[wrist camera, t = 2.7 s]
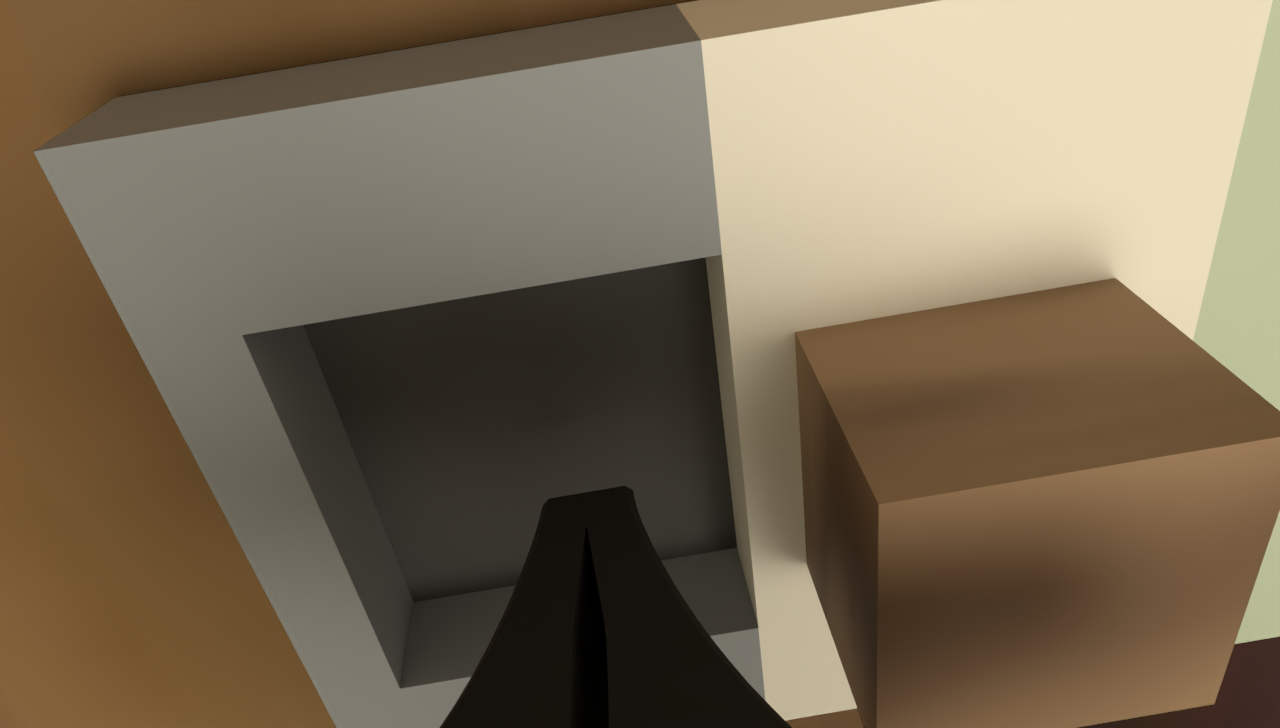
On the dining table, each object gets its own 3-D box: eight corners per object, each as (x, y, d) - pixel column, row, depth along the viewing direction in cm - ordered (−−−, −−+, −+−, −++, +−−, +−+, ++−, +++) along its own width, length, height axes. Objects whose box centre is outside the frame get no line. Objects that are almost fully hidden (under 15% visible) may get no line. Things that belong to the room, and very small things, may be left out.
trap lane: (1724, 464, 21) (1858, 537, 19) (387, 691, 21) (369, 791, 19) (2208, -251, 13) (2524, -264, 11) (114, 97, 13) (33, 152, 11)
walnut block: (1074, 518, 16) (1214, 703, 13) (806, 564, 16) (875, 761, 13) (1116, 278, 14) (1305, 431, 10) (794, 331, 14) (879, 504, 10)
